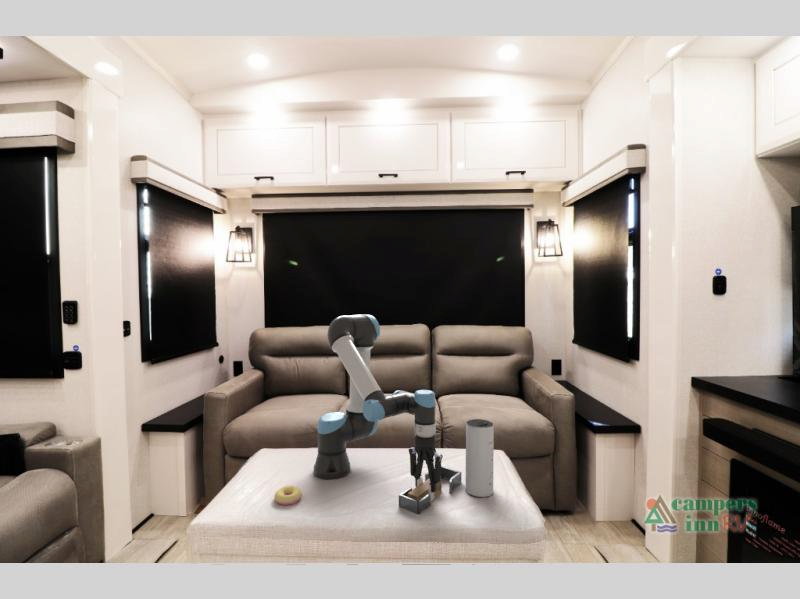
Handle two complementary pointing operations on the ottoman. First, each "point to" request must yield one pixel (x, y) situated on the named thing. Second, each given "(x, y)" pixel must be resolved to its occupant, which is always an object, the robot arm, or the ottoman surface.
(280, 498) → the donut
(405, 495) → the cap
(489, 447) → the speaker
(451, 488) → the cap
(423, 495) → the slat
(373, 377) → the robot arm
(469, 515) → the ottoman surface
